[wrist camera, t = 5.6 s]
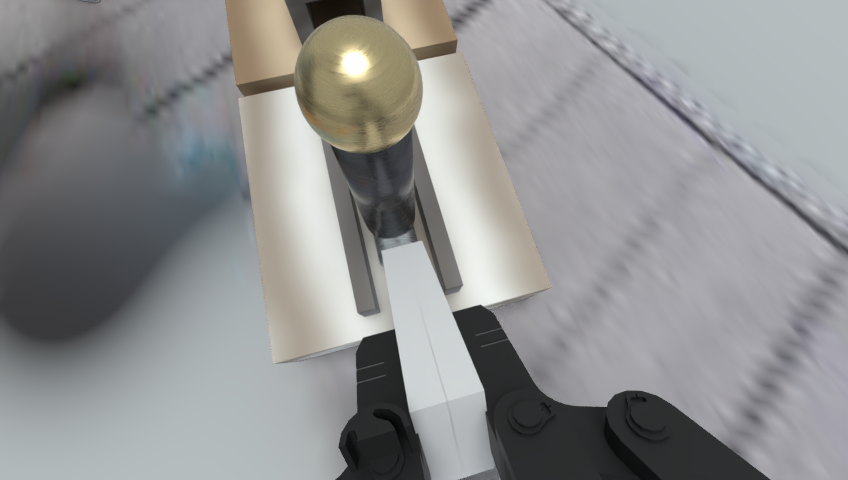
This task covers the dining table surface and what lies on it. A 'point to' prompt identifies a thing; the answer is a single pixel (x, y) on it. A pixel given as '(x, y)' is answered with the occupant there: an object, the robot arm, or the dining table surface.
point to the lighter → (94, 0)
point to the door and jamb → (333, 201)
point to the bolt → (366, 116)
